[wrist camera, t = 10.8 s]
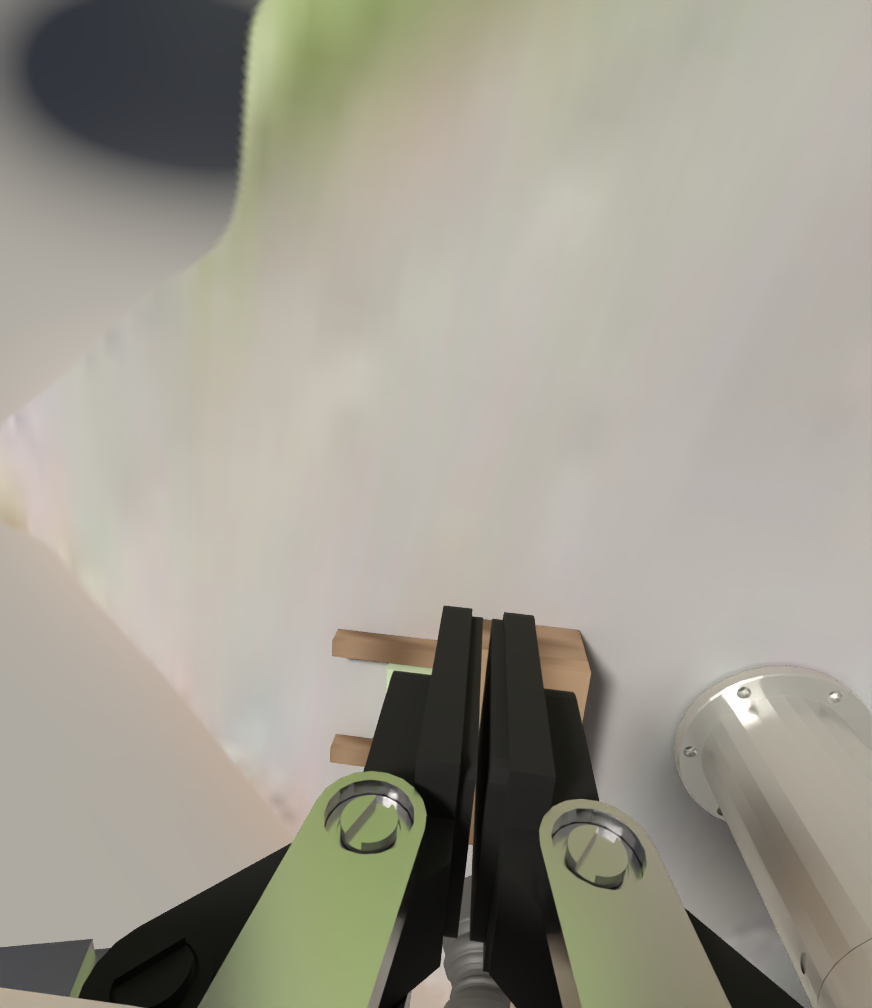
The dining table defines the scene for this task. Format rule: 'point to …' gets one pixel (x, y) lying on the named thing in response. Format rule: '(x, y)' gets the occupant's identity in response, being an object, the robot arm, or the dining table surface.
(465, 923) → the candle holder
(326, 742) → the dining table surface
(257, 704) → the dining table surface
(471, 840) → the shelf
